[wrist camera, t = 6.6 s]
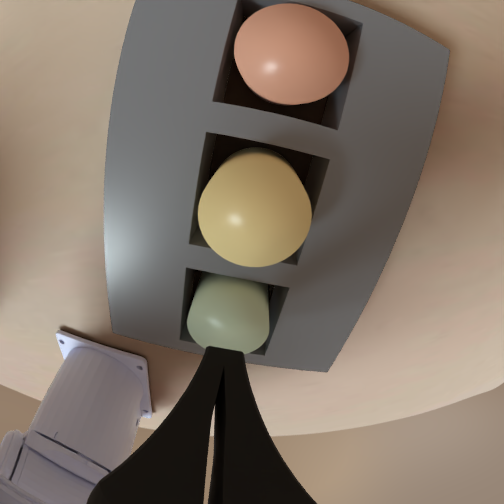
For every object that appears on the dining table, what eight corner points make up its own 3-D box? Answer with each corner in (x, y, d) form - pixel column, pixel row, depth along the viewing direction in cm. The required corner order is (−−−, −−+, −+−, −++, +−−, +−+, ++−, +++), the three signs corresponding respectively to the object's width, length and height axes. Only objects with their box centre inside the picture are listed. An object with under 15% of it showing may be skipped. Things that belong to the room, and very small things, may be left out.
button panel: (319, 336, 17) (327, 372, 15) (130, 300, 17) (112, 332, 14) (416, 57, 10) (450, 50, 7) (167, -3, 9) (144, -26, 6)
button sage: (259, 317, 16) (258, 360, 13) (196, 305, 16) (184, 347, 13) (275, 263, 14) (279, 304, 12) (204, 249, 14) (190, 287, 11)
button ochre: (286, 235, 13) (293, 275, 10) (207, 219, 13) (191, 255, 10) (308, 158, 11) (325, 176, 8) (221, 139, 11) (207, 150, 8)
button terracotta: (316, 115, 11) (335, 117, 8) (232, 96, 11) (223, 90, 8) (334, 42, 9) (358, 22, 6) (250, 21, 9) (247, -6, 6)
